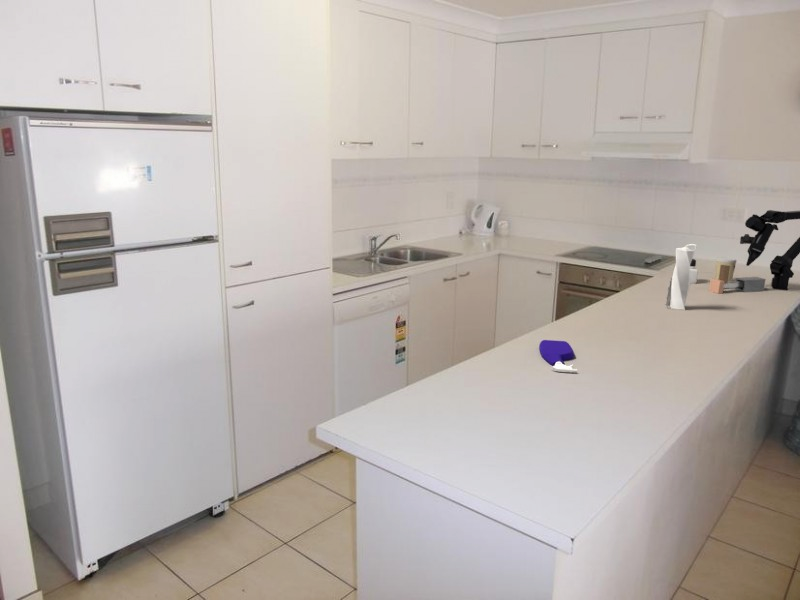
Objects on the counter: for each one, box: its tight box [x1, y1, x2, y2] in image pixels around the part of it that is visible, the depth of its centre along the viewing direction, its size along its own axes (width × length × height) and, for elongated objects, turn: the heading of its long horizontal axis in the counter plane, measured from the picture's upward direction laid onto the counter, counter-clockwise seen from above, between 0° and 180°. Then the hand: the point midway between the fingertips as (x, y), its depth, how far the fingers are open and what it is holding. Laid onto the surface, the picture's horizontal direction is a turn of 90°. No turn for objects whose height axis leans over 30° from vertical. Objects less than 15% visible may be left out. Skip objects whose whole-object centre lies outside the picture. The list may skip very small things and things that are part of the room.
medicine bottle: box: [690, 258, 699, 285], centre depth 317 cm, size 7×7×12 cm
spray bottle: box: [538, 339, 578, 373], centre depth 200 cm, size 3×11×24 cm
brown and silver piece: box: [719, 265, 745, 290], centre depth 298 cm, size 18×4×12 cm, turn 107°
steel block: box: [734, 276, 766, 293], centre depth 302 cm, size 12×6×6 cm, turn 107°
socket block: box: [708, 278, 725, 295], centre depth 296 cm, size 3×6×6 cm, turn 17°
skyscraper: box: [665, 243, 698, 311], centre depth 263 cm, size 8×8×28 cm
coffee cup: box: [714, 256, 737, 282], centre depth 320 cm, size 9×9×12 cm
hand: (747, 264), depth 302 cm, fingers open, 9 cm apart
